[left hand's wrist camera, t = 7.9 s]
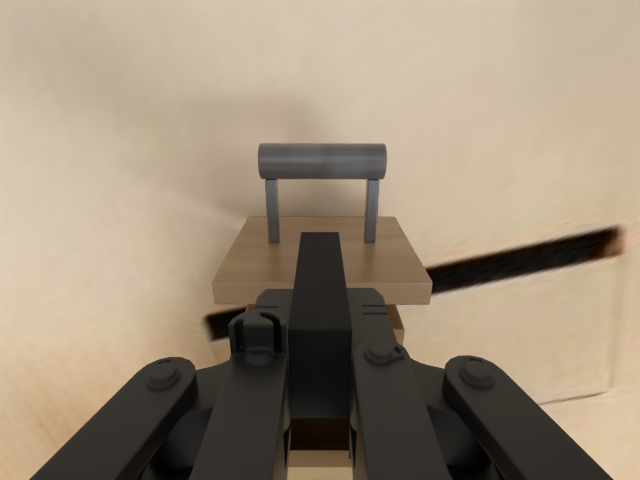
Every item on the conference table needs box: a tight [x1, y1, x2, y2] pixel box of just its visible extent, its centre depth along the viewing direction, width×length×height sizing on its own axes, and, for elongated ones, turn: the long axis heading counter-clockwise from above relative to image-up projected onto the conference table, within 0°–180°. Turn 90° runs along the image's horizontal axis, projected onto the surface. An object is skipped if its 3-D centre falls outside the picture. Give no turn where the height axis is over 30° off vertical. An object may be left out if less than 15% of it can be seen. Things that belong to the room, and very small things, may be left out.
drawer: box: [212, 143, 432, 450], centre depth 23 cm, size 26×10×9 cm, turn 0°
